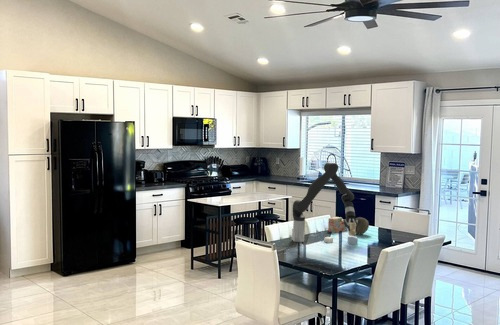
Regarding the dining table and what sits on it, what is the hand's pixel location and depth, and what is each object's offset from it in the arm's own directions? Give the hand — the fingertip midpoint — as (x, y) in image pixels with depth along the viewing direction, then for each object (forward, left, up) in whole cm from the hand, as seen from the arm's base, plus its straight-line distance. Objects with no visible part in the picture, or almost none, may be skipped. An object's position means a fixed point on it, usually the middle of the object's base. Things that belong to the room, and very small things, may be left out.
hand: (352, 230), depth 384 cm
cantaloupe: (+24, +33, -11) cm, 42 cm away
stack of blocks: (+12, +51, -11) cm, 54 cm away
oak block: (0, +2, -4) cm, 5 cm away
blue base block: (+1, +2, -11) cm, 11 cm away
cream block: (-17, +9, -11) cm, 22 cm away
